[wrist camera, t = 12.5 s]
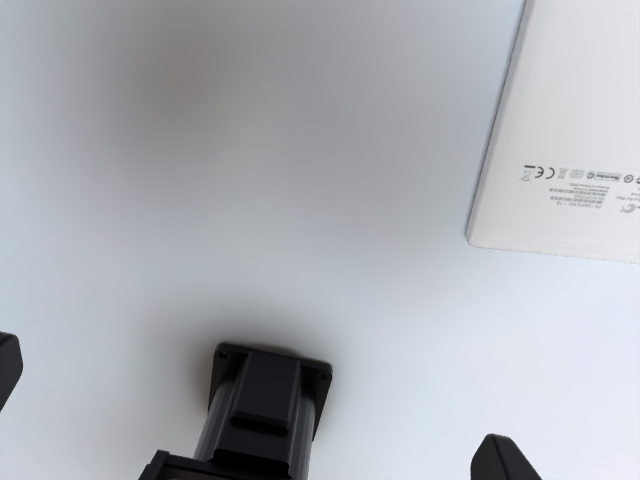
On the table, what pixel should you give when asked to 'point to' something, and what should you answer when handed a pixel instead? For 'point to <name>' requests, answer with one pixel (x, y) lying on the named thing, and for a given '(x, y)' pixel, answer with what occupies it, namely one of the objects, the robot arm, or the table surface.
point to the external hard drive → (566, 136)
